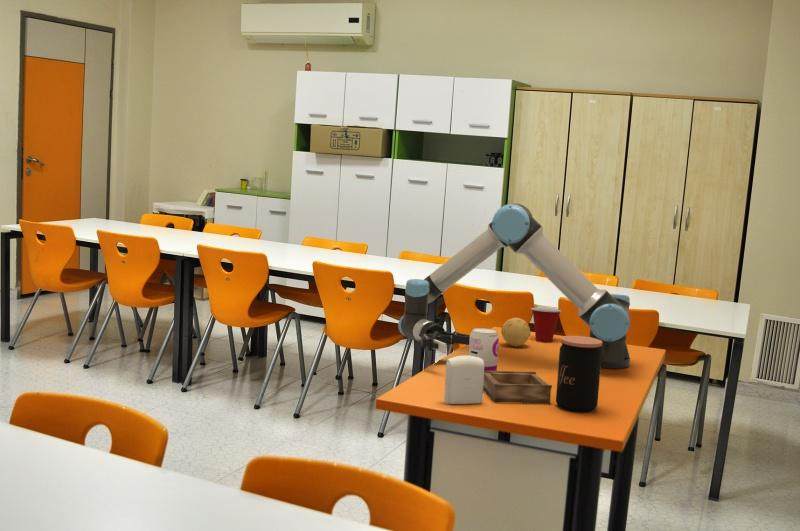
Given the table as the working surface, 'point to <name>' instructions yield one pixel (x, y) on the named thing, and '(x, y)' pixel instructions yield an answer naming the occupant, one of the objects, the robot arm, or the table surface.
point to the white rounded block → (464, 380)
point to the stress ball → (515, 331)
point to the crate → (516, 387)
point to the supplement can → (485, 347)
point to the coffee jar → (578, 373)
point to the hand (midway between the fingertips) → (465, 347)
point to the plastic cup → (545, 323)
